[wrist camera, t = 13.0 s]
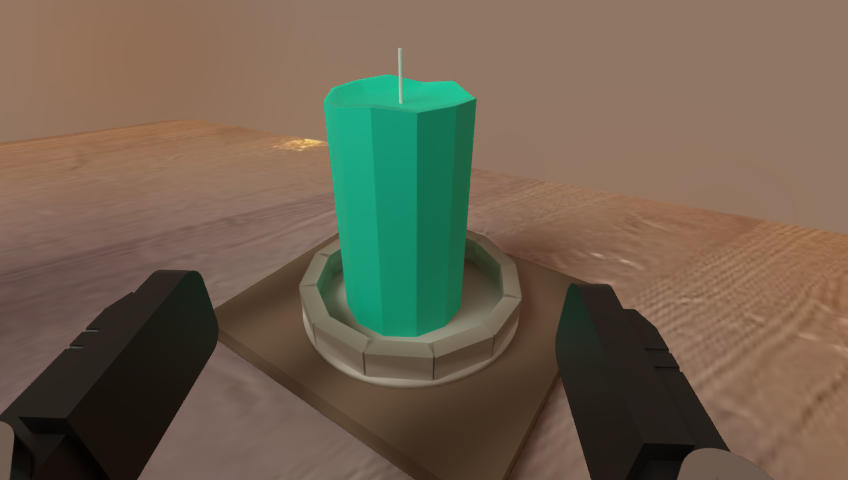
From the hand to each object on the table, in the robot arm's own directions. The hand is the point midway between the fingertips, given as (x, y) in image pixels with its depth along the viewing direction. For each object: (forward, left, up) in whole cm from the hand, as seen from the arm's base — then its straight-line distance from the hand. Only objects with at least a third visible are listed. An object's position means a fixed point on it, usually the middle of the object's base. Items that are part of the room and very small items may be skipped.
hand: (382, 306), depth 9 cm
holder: (-5, +8, -10) cm, 14 cm away
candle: (-6, +8, -8) cm, 13 cm away
